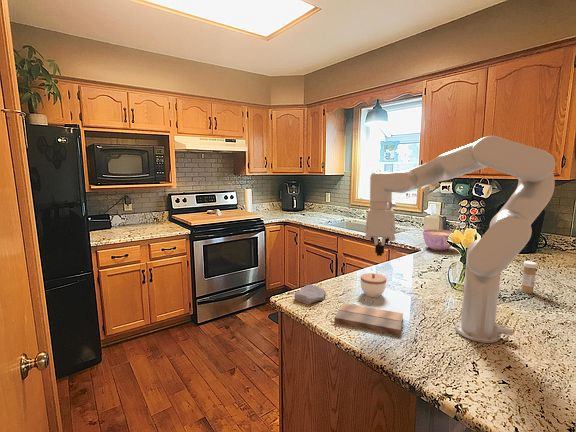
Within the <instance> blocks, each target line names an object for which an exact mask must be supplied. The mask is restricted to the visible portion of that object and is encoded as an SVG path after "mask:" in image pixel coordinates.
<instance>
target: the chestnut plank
mask: <svg viewBox="0 0 576 432" xmlns="http://www.w3.org/2000/svg"><path fill="white" fill-rule="evenodd" d="M338 310H340V311H346V312H351V313H357V314H362V315H368V316H373V317H379V318H385V319H390V320H396V321H401V322H402V323H403V318H404V317H403V316H404V313H403V312H399V311H398V312H396V311H392V310H385V309H380V308H373V307H366V306H362V305H356V304H350V303H344V302H342V303H341V305H340V307H339V309H338Z"/></svg>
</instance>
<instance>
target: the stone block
mask: <svg viewBox="0 0 576 432" xmlns="http://www.w3.org/2000/svg"><path fill="white" fill-rule="evenodd" d="M326 293H327V292H326V290H325V289H324V288H323V287H322V288H321V287H319V286H317V285H314V284H306V285H304V286H303V287H302V289H300V290H296V291H295V293H294V300H295V301H296V302H300V303H304V304H306V305H311V304H314V303H318V302H320V301H322V300H324V299H325V297H326Z"/></svg>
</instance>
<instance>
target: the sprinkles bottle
mask: <svg viewBox="0 0 576 432" xmlns="http://www.w3.org/2000/svg"><path fill="white" fill-rule="evenodd" d="M522 265H523V269H522V270H523V271H522V277H521V289H520V291H521V292H522V293H524V294H529V295H531V294H534V287H535V283H536V274H537V273H536V272H537V268H538V263H537V262H534V261H531V260H530V261H529V260H527V261H526V260H525V261H524V262H523V264H522Z"/></svg>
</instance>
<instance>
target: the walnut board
mask: <svg viewBox="0 0 576 432" xmlns="http://www.w3.org/2000/svg"><path fill="white" fill-rule="evenodd" d="M333 321H334V323H335V324H339V325H344V326H349V327H355V328H358V329H359V328H360V329H363V330H369V331H370V330H371V331H374V332H375V331H376V332H380V333H384V334H390V335H393V336H394V335H395V336H401V335H402V327H403V321H402V322H401V321H396V320H390V319H385V318H379V317H373V316H368V315H362V314H357V313H351V312H346V311H340V310H339V309H338V311H337V312H336V314H335V316H334V320H333Z"/></svg>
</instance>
